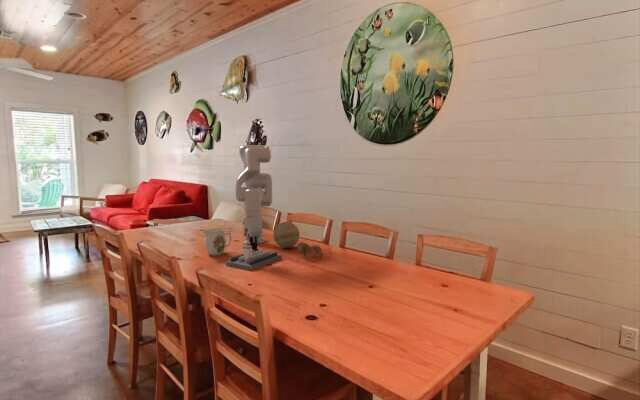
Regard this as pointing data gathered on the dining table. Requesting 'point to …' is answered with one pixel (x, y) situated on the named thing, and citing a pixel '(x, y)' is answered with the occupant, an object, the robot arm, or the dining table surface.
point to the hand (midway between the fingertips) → (253, 249)
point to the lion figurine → (309, 249)
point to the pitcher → (216, 240)
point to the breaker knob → (247, 251)
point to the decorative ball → (286, 235)
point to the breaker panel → (251, 267)
